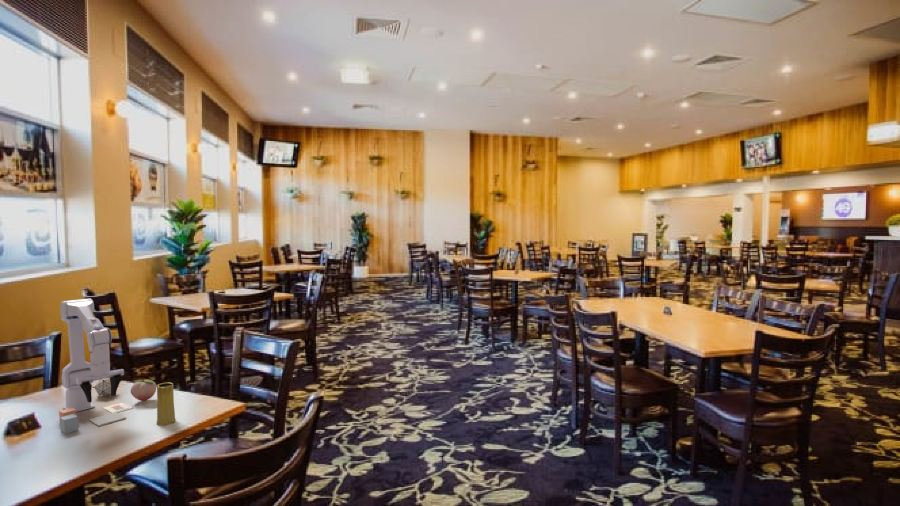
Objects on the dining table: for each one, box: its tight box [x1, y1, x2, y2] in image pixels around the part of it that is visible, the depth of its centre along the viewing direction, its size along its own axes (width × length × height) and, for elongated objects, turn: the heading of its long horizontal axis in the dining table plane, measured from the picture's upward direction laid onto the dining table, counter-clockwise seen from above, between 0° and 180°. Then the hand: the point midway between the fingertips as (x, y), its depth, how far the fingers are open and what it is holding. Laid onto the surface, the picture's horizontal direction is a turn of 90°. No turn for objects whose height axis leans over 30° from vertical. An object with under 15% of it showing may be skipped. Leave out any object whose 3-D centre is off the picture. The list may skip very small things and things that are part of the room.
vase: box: [156, 382, 176, 426], centre depth 185 cm, size 6×6×14 cm
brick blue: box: [59, 414, 79, 435], centre depth 178 cm, size 4×4×5 cm
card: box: [102, 402, 133, 414], centre depth 199 cm, size 10×7×1 cm
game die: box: [92, 377, 113, 398], centre depth 213 cm, size 9×8×10 cm
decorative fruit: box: [130, 377, 157, 402], centre depth 207 cm, size 9×8×10 cm
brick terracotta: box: [58, 408, 77, 420], centre depth 184 cm, size 4×4×5 cm
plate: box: [89, 412, 127, 427], centre depth 188 cm, size 9×9×1 cm
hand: (101, 398), depth 182 cm, fingers open, 7 cm apart
